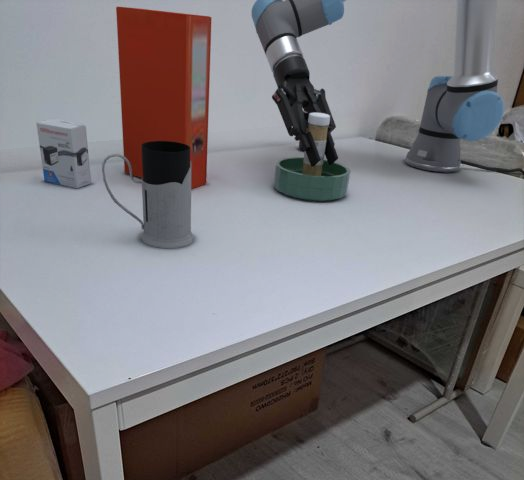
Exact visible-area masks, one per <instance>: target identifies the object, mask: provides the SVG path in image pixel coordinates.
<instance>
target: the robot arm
mask: <svg viewBox="0 0 524 480" xmlns="http://www.w3.org/2000/svg"><path fill="white" fill-rule="evenodd" d="M346 1H347V0H256V1H254V4H253V5H252V8H251V14H250V15H251V20H252V22H253V25H254V29H255V31H256V32H255V33H256V34H257V37H258V39H259V42H260V44H261V46H262V50H263V53H264V55H265V57H266V60H267V63H268V66H269V68H270V70H271V72H272V77H273V78H274V81H275V84H276V87H277V88H276V90H275V91H274V93H273V94H272V95H271V99H272V100H273V102H274V103H275V104H276V106H277V108H278V111H279V114H280V116H281V119H282V121H283V124H284V126H285V128H286V132H287V134H288V136H290V137H293V136H294V140H295V141H297V142H299V141H300V143H301V146H302V148H303V150H304V151H303V152H305V151H306V154H307V156H308V159H309V162H310V164H311V167H313V166H315V165H316V164H317V163H318V162H319V161H320V160H321V158H320V156H319V153H318V150H317V148H316V145H315V143H314V140H313V137H312V135H311V132H307V133H306V131H307V130H306V124H305V119H304V114H303V110H304V111H305V112H307V113H308V115H309V114H310V113H324V114H328V115H330V123H329V125H328V130H327V138H326V147H325V154H324V157H325V160H327V161H328V164H329V165H332V164H333V163H334V162H336V161H337V160H338V159H339V156H338V154H337V151H336V148H335V141H334V138H333V135H332V132H333V131H334V130H335V129H336V128H337V125H336V123H335V120H334V117H333V115H332V112H331V109H330V106H329V103H328V101H327V98H326V89H324V88H320V89H316V88H315V87H314V85H313V84H312V82H311V80H310V75H311V74H310V70H309V67H308V64H307V61H306V59H305V57H304V54H303V52H302V48H301V46H300V43H299V41H298V39H297V38H300V37H302V36H304V35H307V34H309V33H311V32H312V33H313V32H314V31H316V30H319V29H321V28H325V27H326V26H331V25H332V24H333V23H335V22H337V21H340V20H342V18H343V17H344V14H345V4H344V3H345V2H346ZM497 10H498V0H456V11H455V33H454V34H455V36H454V58H453V59H454V60H453V74H452V75H448V76H446V75H437V76H433V78H431V80H430V82H429V84H428V88H427V91H426V98H425V102H424V107H423V111H422V114H421V120H420V125H419V129H418V134H417V136H416V138H415V139H414V141H413V143H412V145H411V147H410V149H409V150H408V152H407V153H406V156H405V161H404V162H405V164H407V166H410V167H413V168H415V169H418V170H422V171H427V172H435V173H446V174H447V173H456V172H459V171H460V167H461V164H462V165H465V166H469V167H474V168H477V169H480V170H485V171H490V172H491V171H493V172H499V173H507V174H508V173H516V172H519V173H522V175H524V171H523V170H522V169H523V168H522V167H516V168H509V169H508V168H502V167H493V166H492V167H490V166H485V165H483V164H482V165H481V164H479V163H474V162H470V161H467V160H462V159H461V140H464V141H468V142H476V141H480V140H484V139H485V138H487V137H489V136H490V135H491V134H492V133H493V132H494V131H495V130H496V129H497V128H498V126H499V125H500V123H501V121H502V119H503V116H504V112H505V104H504V100H503V99H502V97H501V95H500V94H499V93H498V82H499V76H498V74H496V73H495V72H494V71H493V59H494V47H495V34H496V20H497ZM521 168H522V169H521Z"/></svg>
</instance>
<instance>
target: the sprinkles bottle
mask: <svg viewBox="0 0 524 480" xmlns="http://www.w3.org/2000/svg"><path fill="white" fill-rule="evenodd" d="M308 123H309V124H308V125H309V126H308V132H311V135H312V137H313V140H314V143H315V145H316V148H317V150H318V153H319V156H320V158H321V160H320V161H319V162H318V163H317V164H316V165H315V166H313V167H311V164H310V162H309V159H308V156H307V154H306V151H304V155H303V157H304V163H303V172H302V174H306V175H313V176H321V172H322V165H323V161H324V160H325V147H326V138H327V130H328V125H329V123H330V115H328V114H324V113H310V114H309V118H308Z"/></svg>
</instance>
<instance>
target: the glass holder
mask: <svg viewBox="0 0 524 480" xmlns="http://www.w3.org/2000/svg"><path fill="white" fill-rule="evenodd" d="M141 148H142V172H143V177H142V178H141V180H138V179H135V178H134V175H132V168H131V165H130V162H129V161H128V159H127V158H126V157H124V154H119V153H112V154H108V155H107V156H106V157H105V158H104V159H103V161H102V163H101V164H102V166H101V173H102V179H103V183H104V186H105V190H106V192H107V193H108V195H109V196H110V198H111V200H112V201H113V203H115V204H116V205H117V206H118V207H119V208H120V209H122V210H123V211H124V212H125V213H127V214H128V215H130V216H131V217H132V218H134V219H135V220H136V221H137V222H138V223H139V224H140V225H141V230H143V232H142V234H141V236H140V237H141V238H140V239H141V241H142V242H143V243H144V244H146V245H148V246H150V247H154V248H159V249H178V248H184V247H186V246H189V245H191V244H192V243H193V242H194V236H193V234H192V189H191V161H190V147H189V146H188V145H186V144H183V143H179V142H172V141H151V142H146V143H143V144H142V145H141ZM115 157H118V158H120V159H121V160H123V161H124V160H125V161H126V162H127V164H128V166H129V172H130V174H129V176H130V180H131V181H132V182H133V183H136V184H141V196H142V216H143V217H142V218H143V221H142V219H140V218H139V217H138V215H136V214H134V213H133V212H132V211H130V210H129V209H127V208H126V207H125V206H124V205H122V204H121V203H120V202H119V200H117V198H116V197H115V196H114V194H113V192H112V191H111V189H110V187H109V185H108V181H107V179H106V172H105V169H106V168H105V167H106V163H107V161H108V160H109V159H111V158H115Z"/></svg>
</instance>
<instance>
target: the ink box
mask: <svg viewBox="0 0 524 480" xmlns="http://www.w3.org/2000/svg"><path fill="white" fill-rule="evenodd" d="M35 125H36V131H37V136H38V144H39V151H40V158H41V166H42V173H43V181H44V182H46V183H50V184H55V185H58V186H59V185H60V186H65V187H69V188H72V189H80V188H82V187H85V186H88V185H91V184H92V178H91V177H92V176H91V167H90V156H89V145H88V135H87V126H86V125H85V124H84V123H79V122H73V121H70V120H63V119H58V118H50V119H46V120H42V121H37V122H36V124H35Z"/></svg>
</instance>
